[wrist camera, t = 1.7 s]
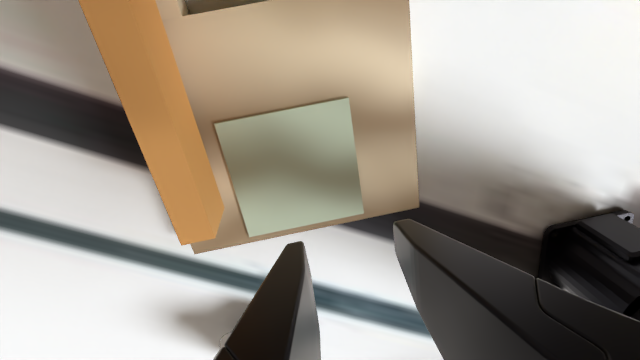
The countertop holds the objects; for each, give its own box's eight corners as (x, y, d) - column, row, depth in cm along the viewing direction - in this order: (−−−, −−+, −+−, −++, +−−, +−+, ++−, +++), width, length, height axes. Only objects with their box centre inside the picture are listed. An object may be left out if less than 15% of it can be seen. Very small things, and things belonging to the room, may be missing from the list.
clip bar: (1, -295, 11) (-146, -467, 7) (64, -304, 11) (-48, -479, 7) (193, 210, 19) (172, 255, 15) (229, 203, 19) (216, 246, 15)
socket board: (409, 195, 22) (420, 208, 20) (200, 239, 22) (193, 256, 20) (379, -302, 13) (393, -350, 11) (12, -246, 12) (-28, -287, 11)
